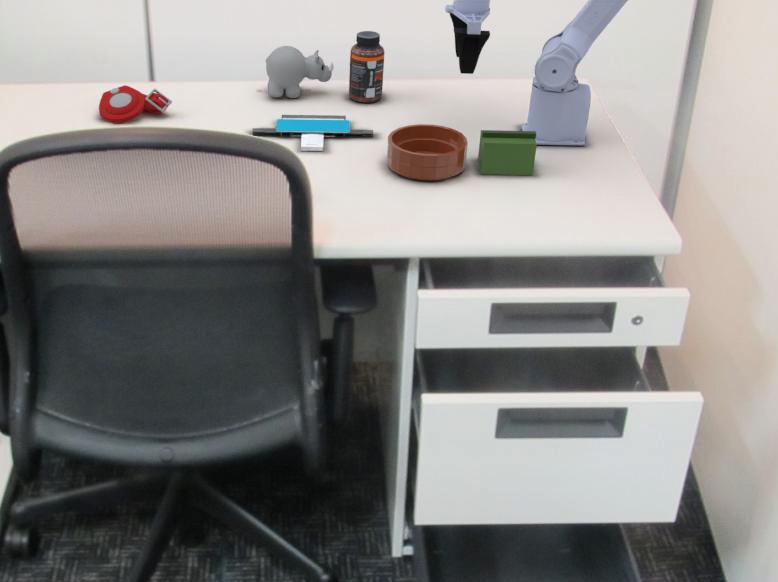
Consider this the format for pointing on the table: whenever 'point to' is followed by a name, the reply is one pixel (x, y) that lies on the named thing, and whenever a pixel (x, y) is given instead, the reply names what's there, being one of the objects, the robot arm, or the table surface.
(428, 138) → the bowl
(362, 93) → the supplement bottle
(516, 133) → the green block
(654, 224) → the table surface
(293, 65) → the round bodied animal figurine
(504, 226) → the table surface
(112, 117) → the tracker holder
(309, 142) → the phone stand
